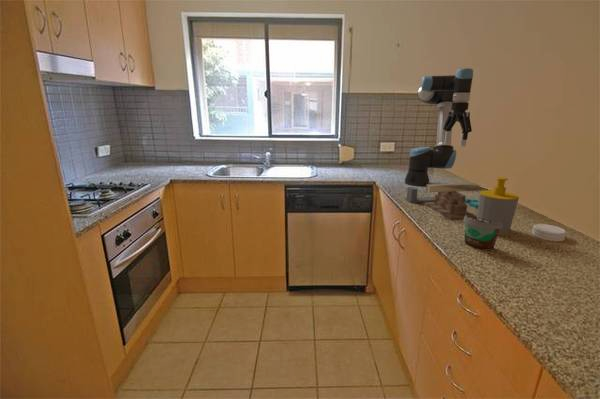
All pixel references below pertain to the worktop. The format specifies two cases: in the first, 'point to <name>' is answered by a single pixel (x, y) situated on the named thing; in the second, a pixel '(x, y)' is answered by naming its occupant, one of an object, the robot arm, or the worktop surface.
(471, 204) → the alien figure
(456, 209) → the fulcrum
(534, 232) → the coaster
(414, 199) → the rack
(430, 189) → the birch bar
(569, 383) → the worktop surface
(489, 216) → the soap bottle
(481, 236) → the food container
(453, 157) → the robot arm
